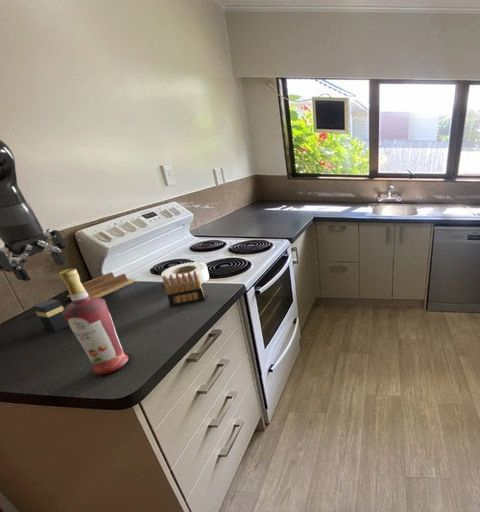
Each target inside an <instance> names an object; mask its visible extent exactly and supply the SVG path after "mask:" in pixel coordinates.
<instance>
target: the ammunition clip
mask: <svg viewBox="0 0 480 512" xmlns="http://www.w3.org/2000/svg"><path fill="white" fill-rule="evenodd" d="M193 274H194V280H195V283H194V281H193V278H192V276H191V274H190V272H188V279H189V283H188V281H187V279H186V276H185V274H184V273H182V279H183V284H182V282H181V279H180V277H179V275H178V274H176V280H177V285H176V283H175V280H174V278H173V276H172V275H170V282H171V286H170V284H169V282H168V279H167V278H166V276H164V277H163V279H164V282H163V285H164V284H165V285H164V289H165V291H166V296H167V299H168V304H169V308H176V307H182V306H184V305H185V306H186V305H190V304H195V303H199V302H200V303H201V302H204V301H206V295H205V293H204V290H203V287H202V284H201V283H200V280H199V278H198V275H197V273H196V272H195V271H194V273H193ZM163 279H162V280H163ZM183 285H184V286H183ZM189 285H190V286H189ZM195 285H196V286H195ZM177 286H178V287H177ZM171 287H172V289H171ZM178 289H179V290H178Z"/></svg>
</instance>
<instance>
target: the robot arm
mask: <svg viewBox="0 0 480 512" xmlns="http://www.w3.org/2000/svg"><path fill="white" fill-rule="evenodd" d="M16 169H17V168H16V160H15V156H14V154H13V151H12V149H11V148H10V146H8V145H7V143H6V142H4V141H3V140H2V139H0V240H1V241H2V243H3V245H4V246H3V247H1V248H0V272H7V273H11V272H12V273H13V274H14V276H15V279H16V280H19V281H23V282H28V281H31V277H30V275H29V274H28V272H27V270H26V269H25V268H24V266H25V263H27V261H28V258H29V257H33V256H35V255H36V254H40V253H42V252H44V251H47V252H49V254H50V256H51V259H52V260H53V261H54V264H55V265H59V266H62V265H65V261H66V259H65V257H64V255H63V253H62V251H63V250H64V249H67V248H68V245H67V243H66V242H65V240H64V238H63V236H62V234H61V233H60V231H59V230H57V229H52V228H46V230H45V232H44V229H43V227H42V225H41V223H40V222H39V219H38V218H37V216H36V214H35V212H34V210H33V208H32V206H31V205H30V204H29V202H27V200H26V198H25V196H24V194H23V192H22V190H21V189H20V187H19V185H18V177H17V170H16ZM48 239H50V240H51V242H52V244H53V245H52V244H49V243H47V241H48ZM9 252H10V254H8V253H9Z"/></svg>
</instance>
